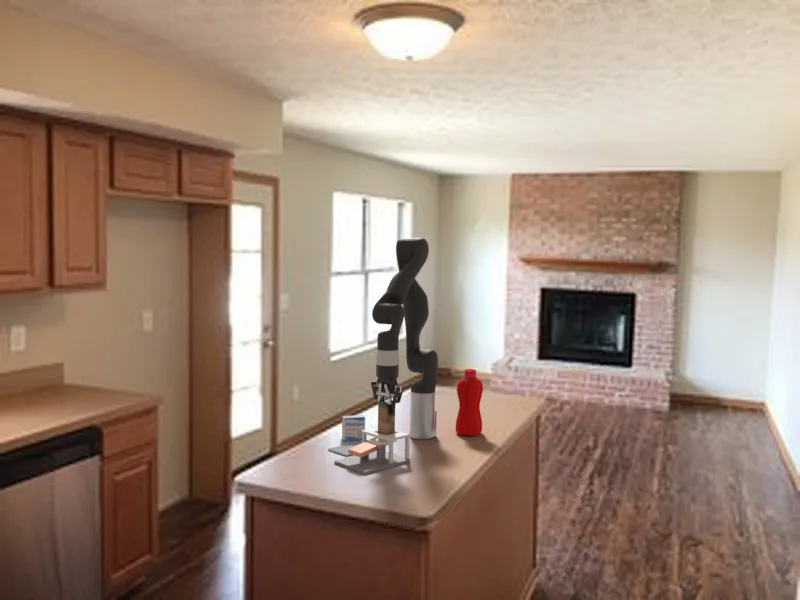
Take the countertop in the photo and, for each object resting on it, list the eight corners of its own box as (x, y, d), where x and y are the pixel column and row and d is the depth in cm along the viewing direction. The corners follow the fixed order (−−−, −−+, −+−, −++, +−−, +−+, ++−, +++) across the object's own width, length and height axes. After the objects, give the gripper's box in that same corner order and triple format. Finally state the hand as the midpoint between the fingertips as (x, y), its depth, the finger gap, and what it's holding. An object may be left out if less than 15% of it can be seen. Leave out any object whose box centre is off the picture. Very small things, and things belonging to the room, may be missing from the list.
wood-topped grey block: (386, 432, 241) (387, 400, 241) (394, 435, 239) (395, 402, 238) (377, 434, 239) (378, 402, 238) (385, 437, 236) (386, 404, 235)
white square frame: (379, 452, 247) (379, 425, 247) (410, 462, 237) (410, 434, 236) (334, 463, 233) (334, 435, 233) (365, 474, 223) (365, 445, 222)
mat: (349, 445, 256) (349, 443, 256) (368, 451, 249) (368, 449, 248) (327, 450, 249) (327, 448, 249) (346, 456, 242) (346, 455, 242)
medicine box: (343, 441, 260) (344, 418, 260) (341, 438, 264) (342, 415, 264) (365, 440, 262) (365, 417, 262) (362, 437, 267) (362, 414, 266)
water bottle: (451, 435, 271) (452, 370, 269) (462, 429, 281) (463, 366, 279) (473, 439, 267) (475, 372, 265) (484, 432, 276) (486, 368, 274)
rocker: (384, 437, 242) (384, 433, 242) (396, 441, 238) (396, 436, 238) (348, 453, 232) (348, 449, 231) (361, 457, 227) (360, 453, 227)
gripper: (410, 364, 234) (409, 416, 236) (381, 359, 245) (380, 408, 246) (394, 367, 229) (393, 419, 230) (364, 361, 239) (364, 411, 241)
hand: (386, 413), depth 238 cm, fingers closed on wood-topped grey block, 4 cm apart
